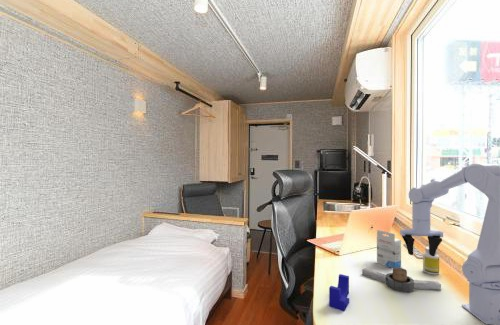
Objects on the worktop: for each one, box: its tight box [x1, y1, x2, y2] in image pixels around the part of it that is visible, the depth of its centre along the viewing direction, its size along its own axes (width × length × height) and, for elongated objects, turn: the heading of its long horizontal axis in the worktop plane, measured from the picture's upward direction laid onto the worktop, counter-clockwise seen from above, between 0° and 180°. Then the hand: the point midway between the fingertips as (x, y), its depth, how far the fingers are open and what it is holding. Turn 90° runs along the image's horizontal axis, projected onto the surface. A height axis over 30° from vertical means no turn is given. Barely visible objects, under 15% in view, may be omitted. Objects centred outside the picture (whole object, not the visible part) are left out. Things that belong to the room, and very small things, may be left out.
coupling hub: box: [392, 267, 408, 282], centre depth 91 cm, size 5×4×6 cm
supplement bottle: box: [422, 246, 440, 276], centre depth 104 cm, size 5×5×10 cm
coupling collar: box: [361, 267, 442, 294], centre depth 93 cm, size 14×23×3 cm, turn 84°
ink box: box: [376, 229, 402, 269], centre depth 111 cm, size 8×5×15 cm, turn 29°
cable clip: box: [328, 273, 350, 312], centre depth 81 cm, size 12×4×6 cm, turn 146°
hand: (421, 254), depth 97 cm, fingers open, 7 cm apart
